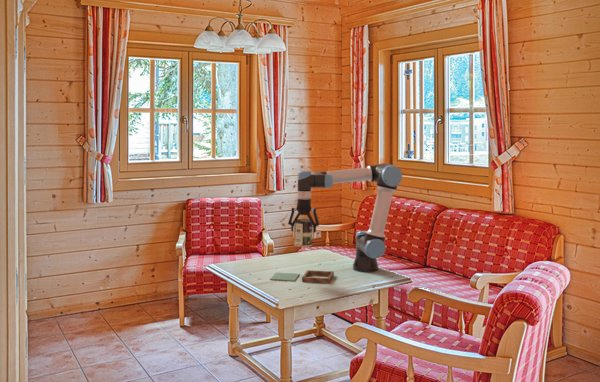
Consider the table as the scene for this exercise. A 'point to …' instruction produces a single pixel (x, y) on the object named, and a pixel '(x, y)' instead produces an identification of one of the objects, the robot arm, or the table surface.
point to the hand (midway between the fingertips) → (303, 237)
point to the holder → (318, 273)
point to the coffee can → (303, 232)
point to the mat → (284, 276)
